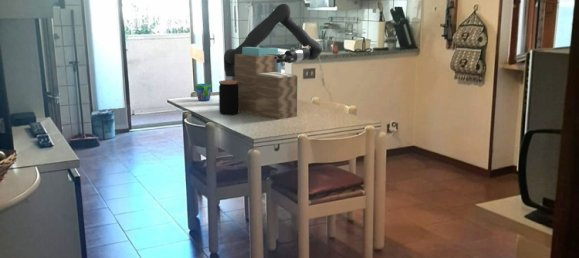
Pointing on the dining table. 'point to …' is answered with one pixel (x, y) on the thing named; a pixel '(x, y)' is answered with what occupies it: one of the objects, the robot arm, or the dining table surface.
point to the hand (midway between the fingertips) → (272, 60)
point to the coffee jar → (228, 97)
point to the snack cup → (203, 91)
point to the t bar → (258, 51)
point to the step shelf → (265, 87)
